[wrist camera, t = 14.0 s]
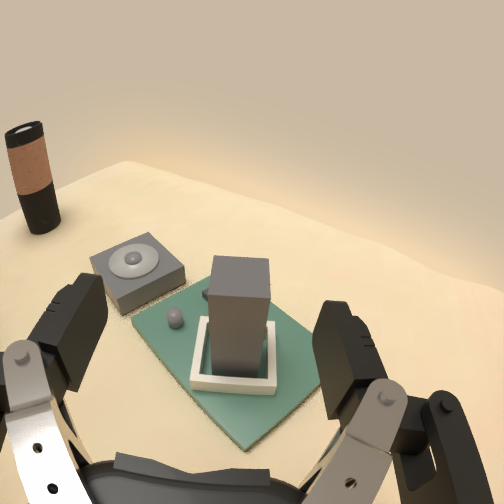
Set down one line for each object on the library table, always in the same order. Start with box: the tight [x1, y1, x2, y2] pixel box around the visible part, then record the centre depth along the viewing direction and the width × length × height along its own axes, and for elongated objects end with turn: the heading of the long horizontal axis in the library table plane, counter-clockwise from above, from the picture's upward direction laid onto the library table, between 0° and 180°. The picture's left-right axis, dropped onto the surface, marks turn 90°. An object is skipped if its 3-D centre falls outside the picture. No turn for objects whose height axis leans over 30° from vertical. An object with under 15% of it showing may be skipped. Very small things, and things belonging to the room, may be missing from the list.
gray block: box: [208, 255, 271, 378], centre depth 27 cm, size 4×5×12 cm
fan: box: [90, 232, 186, 316], centre depth 40 cm, size 10×10×4 cm
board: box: [131, 275, 320, 452], centre depth 33 cm, size 20×15×3 cm
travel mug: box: [5, 121, 61, 234], centre depth 44 cm, size 8×8×20 cm
